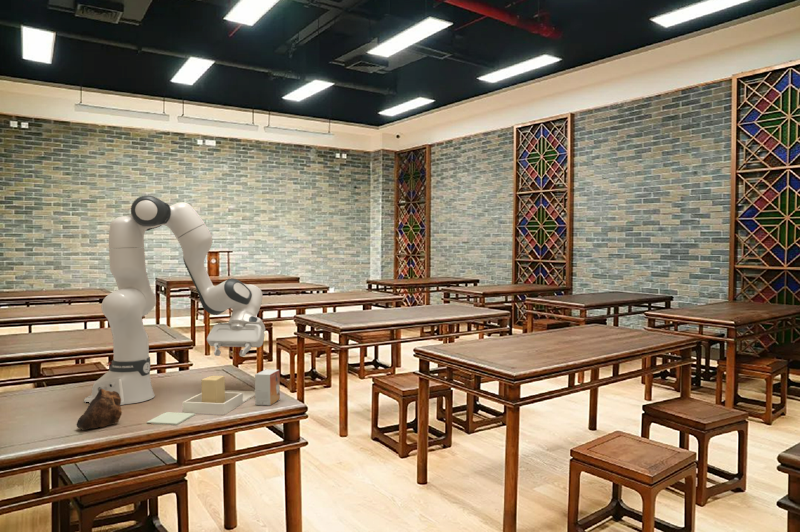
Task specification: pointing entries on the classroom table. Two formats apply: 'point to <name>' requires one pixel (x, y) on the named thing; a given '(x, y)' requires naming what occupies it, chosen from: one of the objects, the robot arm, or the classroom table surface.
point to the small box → (267, 387)
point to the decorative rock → (101, 411)
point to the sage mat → (171, 418)
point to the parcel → (213, 389)
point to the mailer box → (231, 402)
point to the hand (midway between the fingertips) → (229, 355)
